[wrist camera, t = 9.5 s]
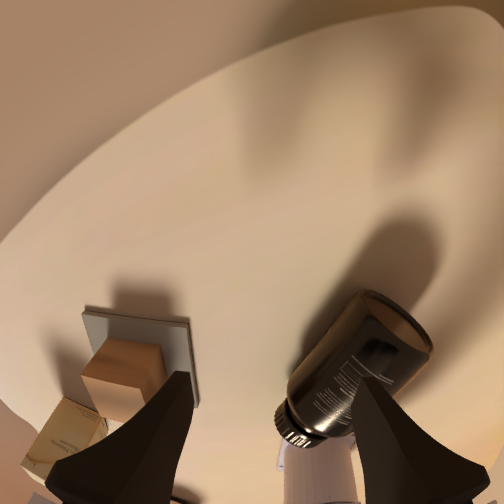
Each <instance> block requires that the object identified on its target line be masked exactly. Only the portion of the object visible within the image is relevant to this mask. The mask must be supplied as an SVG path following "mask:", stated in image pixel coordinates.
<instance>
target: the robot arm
mask: <svg viewBox="0 0 504 504" xmlns="http://www.w3.org/2000/svg"><path fill="white" fill-rule="evenodd" d="M194 404H195V401H194V395H193V389H192V383H191V376H190V372H186V371H178V370H176V371H174V372H173V373H172V375H171V376H170V377H169V378H168V380H167V381H166V382H165V383H164V385H163V386H162V387H161V388H160V389H159V390H158V392H157V393H156V394H155V395H154V396H153V397H152V398H151V399H150V400H149V401H148V402H147V403H146V404H145V405H144V406H143V407H142V408H141V409H140V410H139V411H138V412H137V413H136V414H135V415H134V416H133V417H132V418H131V419H129V420H128V421H127V422H126V423H125V424H123V425H122V426H121V427H120V428H118V429H117V430H116V431H114V432H113V433H111V434H110V435H108V436H107V437H105V438H104V439H102V440H101V441H99V442H97V443H95V444H94V445H92V446H90V447H88V448H86V449H84V450H82V451H80V452H78V453H75V454H73V455H70V456H68V457H65V458H63V459H60V460H57V461H56V462H55V464H54V465H53V467H52V468H51V470H50V472H49V474H48V476H47V478H46V480H45V482H44V484H45V486H46V487H47V488H48V489H49V491H51V492H52V493H53V494H54V495H55V496H56V497H58V498H59V499H60V500H61V501H63V503H62V504H170V501H171V495H172V489H173V483H174V478H175V473H176V468H177V465H178V461H179V458H180V455H181V452H182V449H183V446H184V443H185V440H186V437H187V434H188V431H189V428H190V424H191V420H192V415H193V410H194ZM351 417H352V425H353V430H354V433H352V434H350V435H348V436H345V437H341V438H329V439H327V440H326V441H323V442H322V443H320V444H319V445H318V446H315V447H313V448H309V449H306V448H303V449H302V448H300V447H296V446H294V445H292V444H291V443H288V442H287V441H286V440H285V439H283V437H282V443H281V448H280V453H279V458H278V463H277V471H284V504H361V502H358V496H357V490H356V484H355V477H354V472H353V466H352V460H351V454H350V449H351V447H352V445H353V443H354V441H355V439H356V443H357V447H358V451H359V455H360V459H361V463H362V468H363V473H364V483H365V497H366V504H473V502H472V499H474V498H475V497H476V496H477V495H479V494H480V493H481V492H482V491H484V490H485V489H486V488H487V487H488V486H489V484H490V479H489V476H488V474H487V471H486V469H485V467H484V466H482V465H479V464H477V463H474V462H472V461H470V460H467V459H465V458H463V457H462V456H460V455H458V454H456V453H454V452H453V451H451V450H449V449H448V448H446V447H445V446H443V445H442V444H440V443H439V442H437V441H436V440H435V439H433V438H432V437H431V436H430V435H428V434H427V433H426V432H425V431H424V430H422V429H421V428H420V427H419V426H418V425H417V424H416V423H415V422H414V421H413V420H412V419H411V418H410V417H409V416H408V415H407V414H406V413H405V412H404V411H403V409H402V408H401V407H400V406H399V405H398V404H397V403H396V402H395V400H394V399H393V398H392V397H391V396H390V394H389V393H388V392H387V391H386V390H385V388H384V387H383V386H382V385H381V383H380V382H379V381H378V380H377V379H376V377H375V376H370V377H361V380H360V383H359V385H358V388H357V391H356V394H355V396H354V399H353V402H352V404H351ZM28 504H56V503H54V502H53V501H51V500H49V499H47V498H45V497H43V496H42V495H40V494H38V493H36V492H33V494H32V496H31V498H30V500H29V502H28ZM488 504H497V501H496V500H493V501H492V502H490V503H488Z"/></svg>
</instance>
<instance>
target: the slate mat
mask: <svg viewBox="0 0 504 504" xmlns="http://www.w3.org/2000/svg"><path fill="white" fill-rule="evenodd" d="M81 315H82V318H83V322H84V325H85V328H86V331H87V335H88V338H89V341H90V344H91V347H92V350H93V353H94V355H95V354H96V352H97V351H98V349H99V348H100V347H101V345H102V344H103V343H104V341H105V340H106V338H107V337H110V338H116V339H122V340H129V341H135V342H142V343H150V344H157V345H161V347H162V352H163V357H164V361H165V366H166V371H167V375H168V378H169V377H170V376H171V375H172V373H173V372H174V371H176V370H178V371H186V372H190V376H191V383H192V389H193V395H194V401H195V404H194V408H198V405H199V401H198V395H197V388H196V381H195V374H194V367H193V360H192V352H191V344H190V335H189V326H188V323H177V322H167V321H158V320H149V319H141V318H133V317H126V316H118V315H111V314H104V313H98V312H91V311H84V312H83V313H82V314H81Z"/></svg>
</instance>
